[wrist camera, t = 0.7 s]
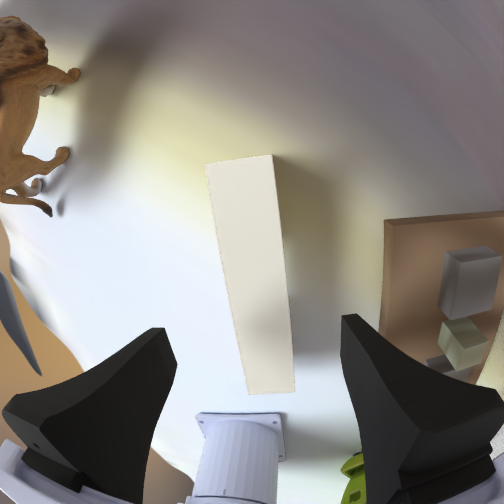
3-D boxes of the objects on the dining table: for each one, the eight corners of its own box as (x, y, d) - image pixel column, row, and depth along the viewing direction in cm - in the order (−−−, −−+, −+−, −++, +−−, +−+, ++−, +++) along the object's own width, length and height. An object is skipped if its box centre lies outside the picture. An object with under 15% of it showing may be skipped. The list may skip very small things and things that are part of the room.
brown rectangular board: (469, 375, 20) (489, 407, 16) (366, 404, 22) (377, 445, 17) (508, 210, 15) (549, 228, 10) (383, 219, 16) (419, 244, 12)
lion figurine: (43, 48, 13) (-35, 31, 5) (90, 27, 13) (9, -8, 4) (37, 215, 18) (-44, 252, 10) (81, 215, 18) (-11, 257, 9)
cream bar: (293, 353, 20) (295, 392, 16) (253, 356, 20) (248, 394, 17) (272, 154, 16) (271, 154, 12) (221, 161, 16) (204, 164, 12)
